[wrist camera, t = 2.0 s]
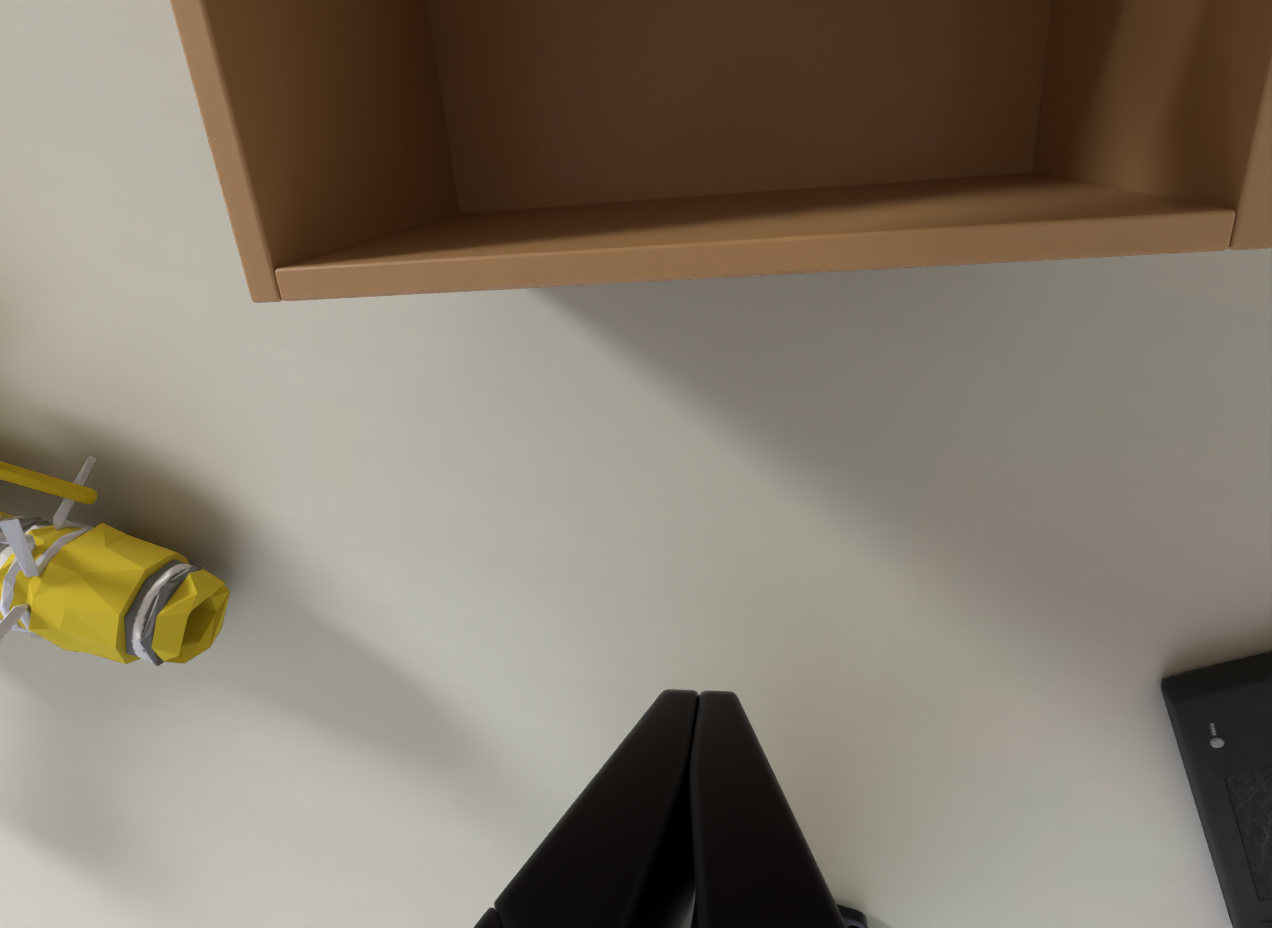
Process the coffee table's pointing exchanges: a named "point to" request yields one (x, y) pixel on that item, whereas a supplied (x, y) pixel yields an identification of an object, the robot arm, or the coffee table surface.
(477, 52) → the carton
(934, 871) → the coffee table surface
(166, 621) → the sprinkler
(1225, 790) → the handheld gaming console
